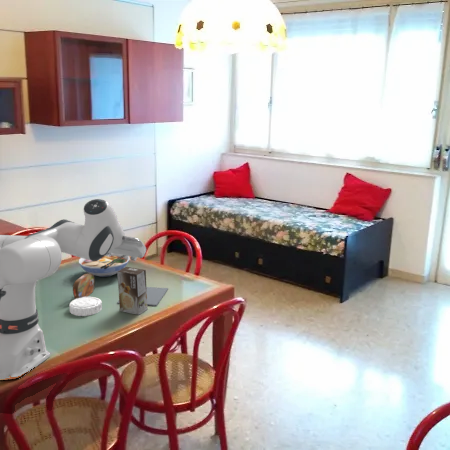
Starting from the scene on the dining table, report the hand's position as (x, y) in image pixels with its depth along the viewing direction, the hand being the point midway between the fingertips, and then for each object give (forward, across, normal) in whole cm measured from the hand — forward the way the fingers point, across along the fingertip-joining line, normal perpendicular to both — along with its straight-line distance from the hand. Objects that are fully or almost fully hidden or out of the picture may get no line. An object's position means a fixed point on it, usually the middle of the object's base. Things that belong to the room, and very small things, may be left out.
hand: (121, 256), depth 178 cm
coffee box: (+28, 0, +7) cm, 29 cm away
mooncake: (+26, +18, +12) cm, 34 cm away
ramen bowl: (+52, +30, -16) cm, 62 cm away
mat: (+37, +2, -3) cm, 37 cm away
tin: (+35, +26, +3) cm, 43 cm away
